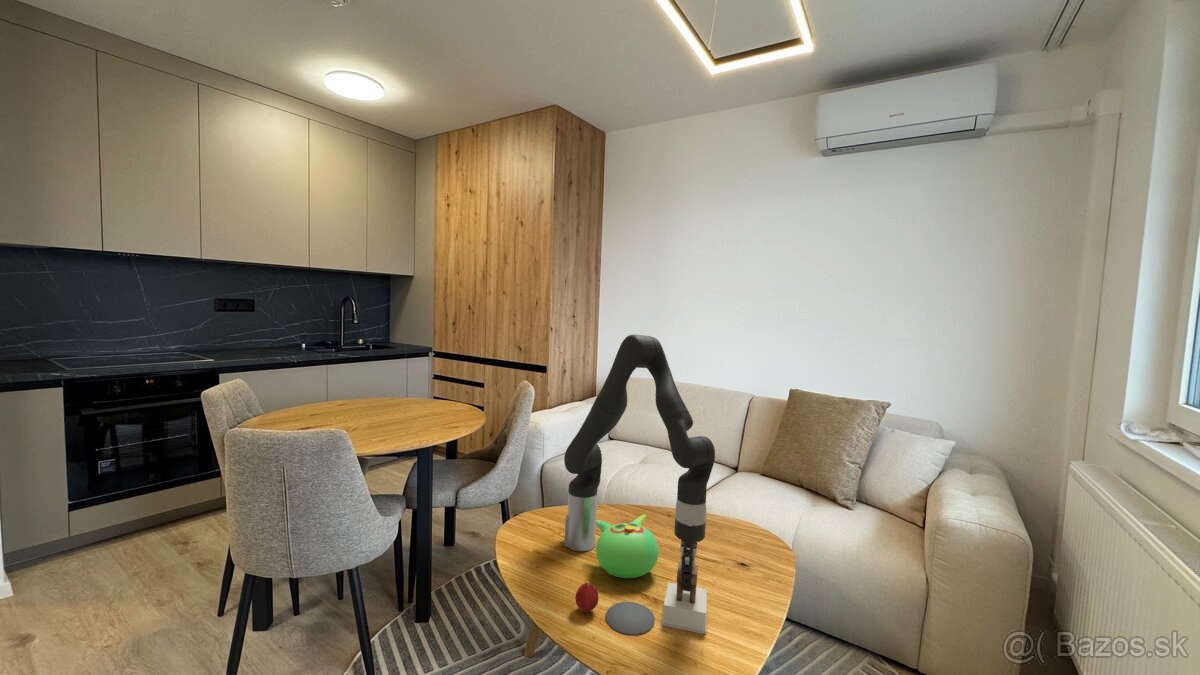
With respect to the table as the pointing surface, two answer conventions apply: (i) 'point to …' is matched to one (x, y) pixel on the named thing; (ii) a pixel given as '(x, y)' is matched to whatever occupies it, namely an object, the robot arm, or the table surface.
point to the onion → (586, 597)
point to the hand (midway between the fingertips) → (686, 583)
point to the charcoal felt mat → (630, 618)
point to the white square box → (685, 610)
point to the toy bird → (626, 548)
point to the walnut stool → (693, 584)
